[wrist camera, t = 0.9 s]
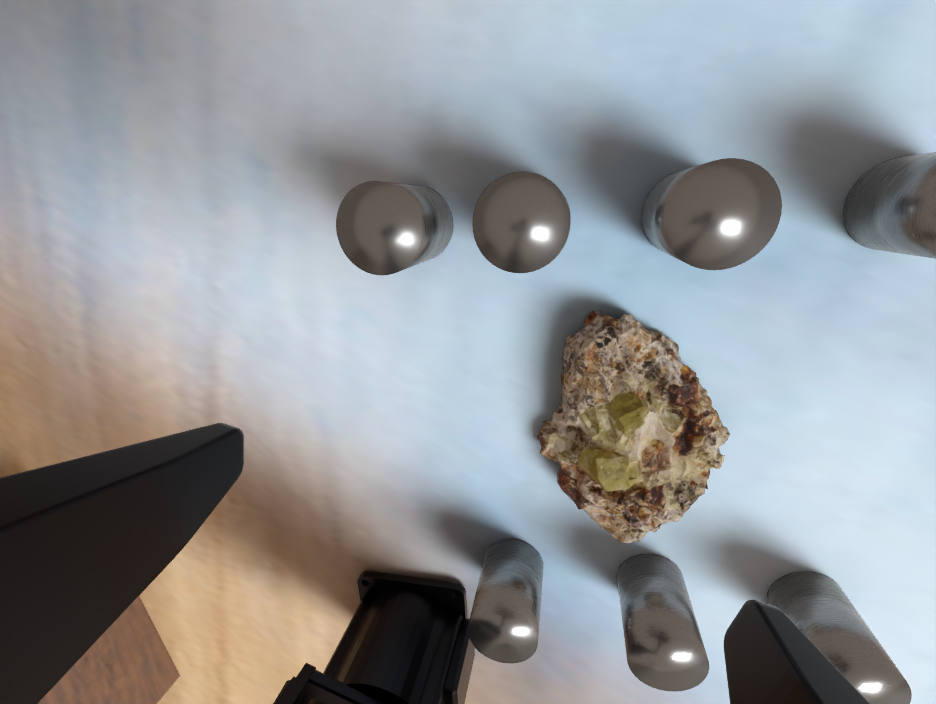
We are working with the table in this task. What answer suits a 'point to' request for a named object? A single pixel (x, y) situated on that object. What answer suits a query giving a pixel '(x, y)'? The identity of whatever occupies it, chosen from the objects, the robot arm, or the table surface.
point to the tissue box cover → (120, 666)
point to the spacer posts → (700, 245)
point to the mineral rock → (631, 428)
